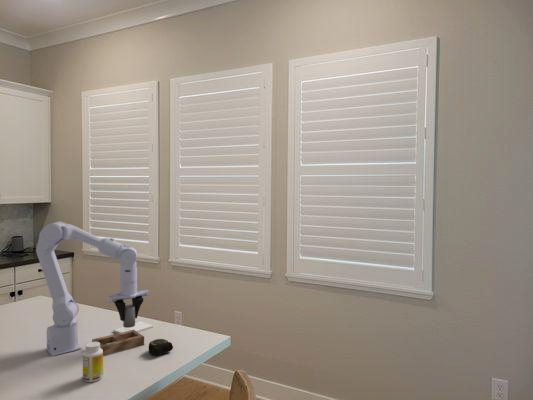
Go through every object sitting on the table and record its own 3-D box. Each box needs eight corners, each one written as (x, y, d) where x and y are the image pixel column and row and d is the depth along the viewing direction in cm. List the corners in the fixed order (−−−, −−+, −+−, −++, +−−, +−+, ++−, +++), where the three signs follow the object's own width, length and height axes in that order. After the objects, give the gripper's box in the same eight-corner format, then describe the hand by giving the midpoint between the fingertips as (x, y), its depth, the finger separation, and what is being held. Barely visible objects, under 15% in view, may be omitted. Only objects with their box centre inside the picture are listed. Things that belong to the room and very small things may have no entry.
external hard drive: (152, 329, 161) (125, 338, 151) (140, 324, 166) (113, 333, 156) (152, 325, 161) (125, 334, 151) (140, 320, 166) (113, 329, 156)
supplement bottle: (105, 373, 122) (105, 340, 121) (99, 382, 116) (99, 347, 116) (86, 374, 121) (86, 340, 121) (79, 383, 116) (79, 348, 115)
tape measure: (155, 359, 133) (155, 347, 133) (144, 352, 138) (144, 341, 137) (173, 353, 138) (173, 342, 137) (162, 347, 142) (162, 336, 142)
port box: (101, 356, 134) (100, 346, 134) (92, 347, 141) (92, 338, 141) (144, 344, 144) (144, 336, 144) (133, 337, 151) (133, 329, 150)
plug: (124, 328, 141) (124, 308, 141) (122, 324, 145) (122, 305, 144) (136, 326, 144) (136, 306, 143) (133, 322, 147) (133, 303, 147)
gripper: (112, 286, 136) (112, 326, 137) (152, 280, 146) (152, 317, 146) (104, 282, 141) (105, 321, 142) (144, 276, 151) (144, 312, 151)
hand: (128, 318), depth 144 cm, fingers closed on plug, 4 cm apart
